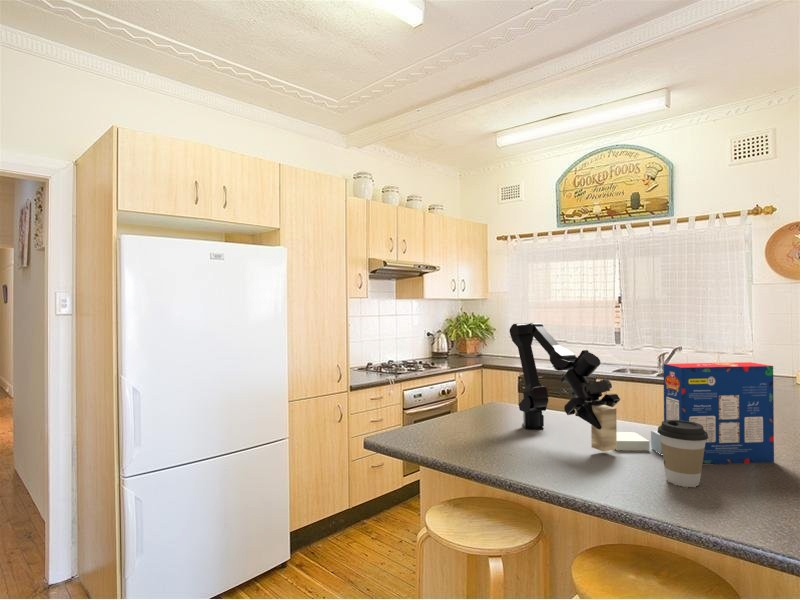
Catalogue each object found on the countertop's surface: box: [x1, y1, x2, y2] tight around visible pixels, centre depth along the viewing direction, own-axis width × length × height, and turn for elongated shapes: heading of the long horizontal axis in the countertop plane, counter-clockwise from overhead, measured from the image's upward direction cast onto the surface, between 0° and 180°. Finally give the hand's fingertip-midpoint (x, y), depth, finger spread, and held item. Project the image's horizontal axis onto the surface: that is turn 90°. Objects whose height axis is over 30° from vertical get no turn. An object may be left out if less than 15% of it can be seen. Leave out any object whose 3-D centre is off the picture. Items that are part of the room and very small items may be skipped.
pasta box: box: [663, 361, 775, 465], centre depth 138 cm, size 28×8×28 cm, turn 95°
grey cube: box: [650, 430, 663, 455], centre depth 144 cm, size 6×6×6 cm
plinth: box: [615, 431, 651, 451], centre depth 151 cm, size 10×10×4 cm
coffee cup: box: [656, 420, 708, 488], centre depth 120 cm, size 11×11×15 cm
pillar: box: [590, 405, 618, 452], centre depth 143 cm, size 4×6×12 cm
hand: (607, 427), depth 142 cm, fingers closed on pillar, 5 cm apart
